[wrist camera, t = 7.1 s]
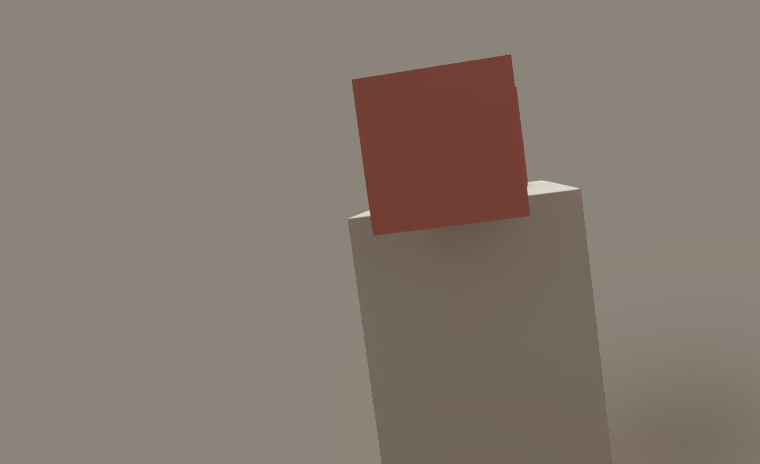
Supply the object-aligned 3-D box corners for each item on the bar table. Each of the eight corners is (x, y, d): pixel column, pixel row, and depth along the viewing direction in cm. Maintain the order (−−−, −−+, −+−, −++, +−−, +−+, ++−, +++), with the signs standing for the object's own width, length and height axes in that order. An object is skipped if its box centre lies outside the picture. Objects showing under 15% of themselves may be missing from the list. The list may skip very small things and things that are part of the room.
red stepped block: (585, 209, 13) (559, -11, 13) (322, 242, 14) (293, 35, 14) (523, 184, 32) (512, 94, 32) (413, 198, 33) (401, 111, 32)
